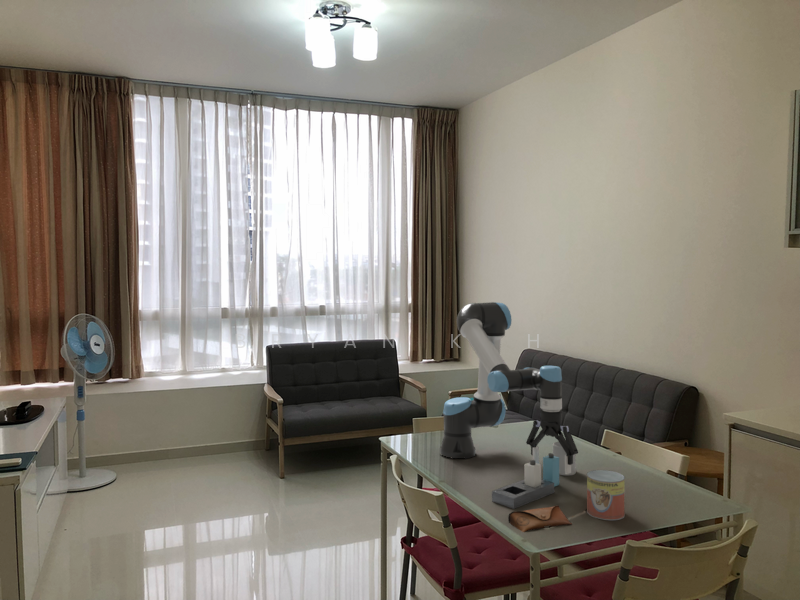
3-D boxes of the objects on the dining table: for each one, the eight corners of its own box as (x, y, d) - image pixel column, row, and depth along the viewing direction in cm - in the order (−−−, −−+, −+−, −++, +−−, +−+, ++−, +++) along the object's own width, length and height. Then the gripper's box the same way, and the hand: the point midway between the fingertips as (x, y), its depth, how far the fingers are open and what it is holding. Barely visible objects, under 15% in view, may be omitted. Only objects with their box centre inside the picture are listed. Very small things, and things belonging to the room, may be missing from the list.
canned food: (582, 515, 186) (582, 477, 185) (592, 504, 195) (592, 467, 195) (619, 523, 179) (619, 483, 179) (628, 511, 189) (628, 473, 188)
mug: (579, 475, 223) (579, 446, 223) (558, 477, 222) (558, 448, 221) (565, 465, 235) (565, 438, 235) (545, 467, 234) (544, 439, 233)
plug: (543, 484, 212) (543, 453, 212) (549, 482, 215) (549, 451, 215) (552, 487, 209) (552, 456, 209) (559, 485, 212) (559, 454, 212)
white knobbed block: (524, 493, 204) (524, 460, 203) (531, 490, 206) (531, 458, 206) (534, 496, 201) (533, 463, 200) (541, 493, 203) (541, 461, 203)
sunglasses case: (522, 532, 173) (516, 509, 176) (511, 536, 179) (506, 513, 182) (574, 524, 179) (568, 501, 182) (562, 528, 185) (556, 505, 188)
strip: (513, 510, 190) (513, 498, 190) (492, 502, 197) (491, 491, 196) (554, 494, 204) (554, 482, 204) (532, 487, 211) (532, 476, 211)
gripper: (516, 406, 218) (516, 463, 219) (575, 416, 199) (576, 479, 200) (529, 403, 223) (529, 459, 224) (588, 413, 204) (588, 474, 205)
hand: (551, 469), depth 212 cm, fingers open, 13 cm apart
